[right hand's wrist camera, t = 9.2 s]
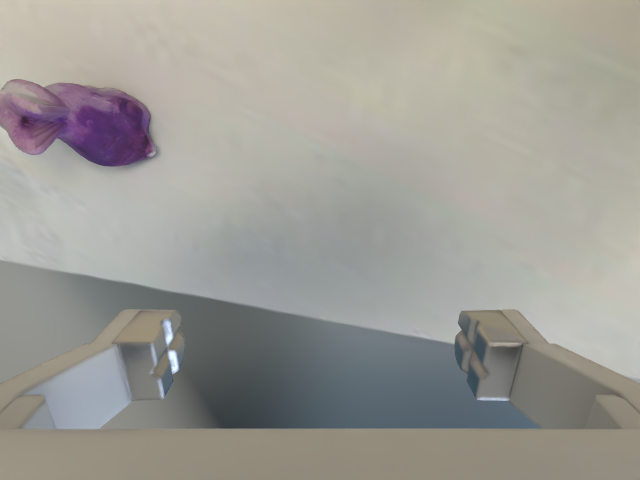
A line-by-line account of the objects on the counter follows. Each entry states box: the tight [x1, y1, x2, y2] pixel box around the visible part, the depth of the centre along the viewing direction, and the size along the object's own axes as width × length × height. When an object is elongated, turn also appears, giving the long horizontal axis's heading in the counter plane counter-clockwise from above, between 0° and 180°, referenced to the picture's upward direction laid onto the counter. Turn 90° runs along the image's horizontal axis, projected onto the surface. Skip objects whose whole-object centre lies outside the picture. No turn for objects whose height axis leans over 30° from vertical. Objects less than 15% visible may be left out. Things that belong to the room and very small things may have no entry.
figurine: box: [0, 79, 156, 166], centre depth 35 cm, size 9×10×15 cm
